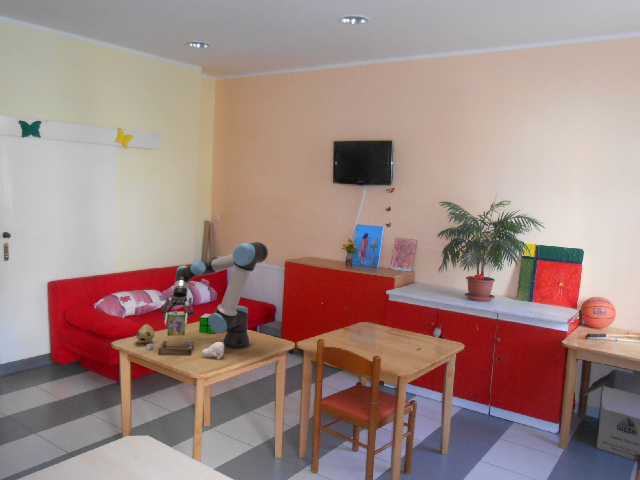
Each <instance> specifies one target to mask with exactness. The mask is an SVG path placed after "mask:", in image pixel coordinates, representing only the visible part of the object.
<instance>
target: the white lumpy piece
mask: <svg viewBox="0 0 640 480" xmlns="http://www.w3.org/2000/svg"><path fill="white" fill-rule="evenodd" d="M224 352H225V346H224V344H223V342H222V341H217V342H214V343H212V344H211V345H210V346H209V347H207V348H204V349H202V351H201V355H202V356H203V357H204V358H208V356H212V357H215V358H216V360H220V359H221V358H222V356H223V354H224Z"/></svg>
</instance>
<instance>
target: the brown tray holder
mask: <svg viewBox="0 0 640 480" xmlns="http://www.w3.org/2000/svg"><path fill="white" fill-rule="evenodd" d="M194 348H195V341H191V344H190V345H167V341H166V340H163V341H162V343H161V344H160V346H159V347H158V350H157V353H158V354H157V355H158V356H192V353H193V351H194Z"/></svg>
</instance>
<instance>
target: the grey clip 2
mask: <svg viewBox="0 0 640 480" xmlns="http://www.w3.org/2000/svg"><path fill="white" fill-rule="evenodd" d="M191 342H192V339H191V338H185V340H184V346H190V344H191Z"/></svg>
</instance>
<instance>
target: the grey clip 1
mask: <svg viewBox="0 0 640 480" xmlns="http://www.w3.org/2000/svg"><path fill="white" fill-rule="evenodd" d="M145 349H146V350H148V351H152V350H155V344H152V343H150V344H148V343H146V348H145Z"/></svg>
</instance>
